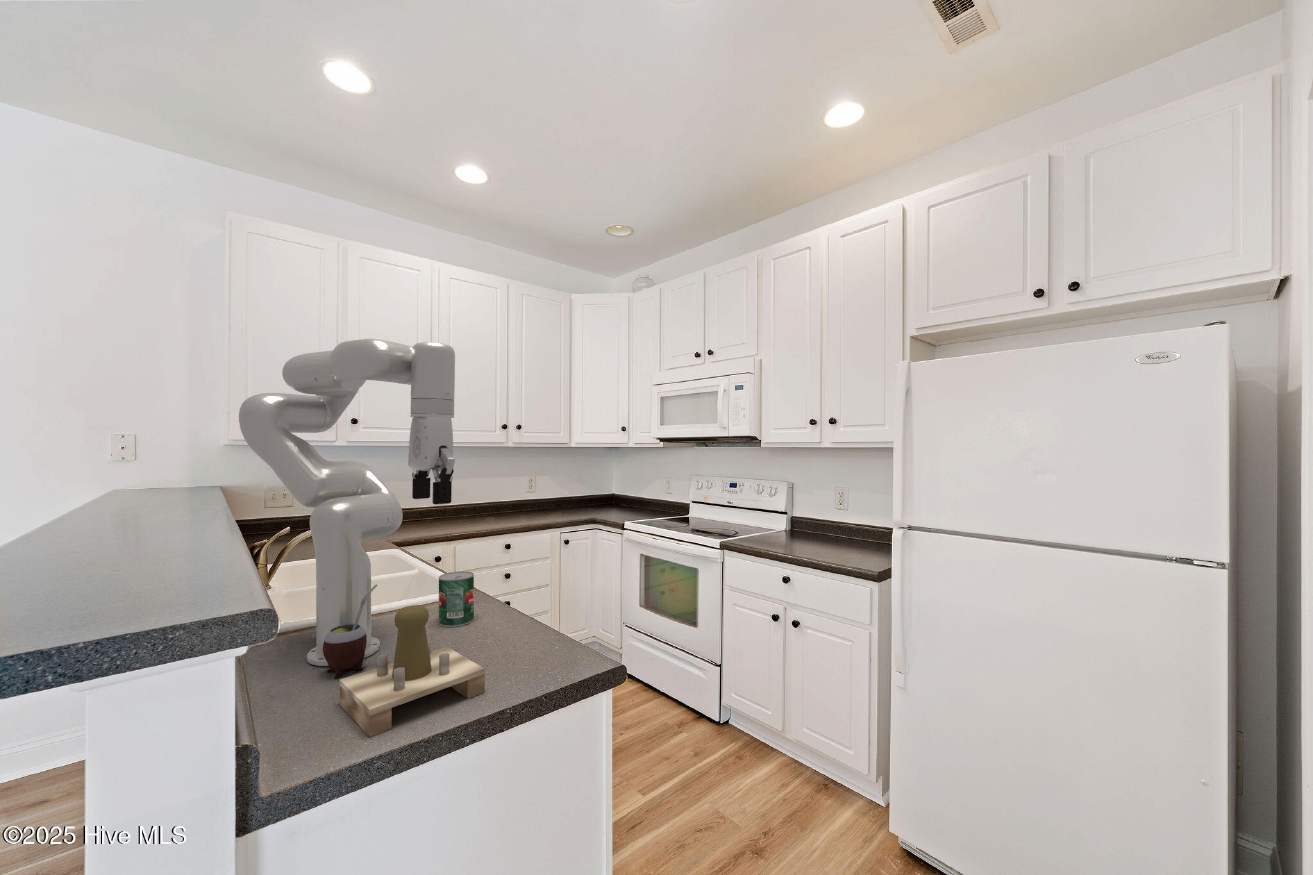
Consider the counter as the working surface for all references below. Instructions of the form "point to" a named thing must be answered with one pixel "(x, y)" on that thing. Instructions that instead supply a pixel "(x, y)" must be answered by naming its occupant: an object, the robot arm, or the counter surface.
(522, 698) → the counter surface
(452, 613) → the canned tomato
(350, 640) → the mate gourd
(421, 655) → the olive chess pawn
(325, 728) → the counter surface
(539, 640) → the counter surface
